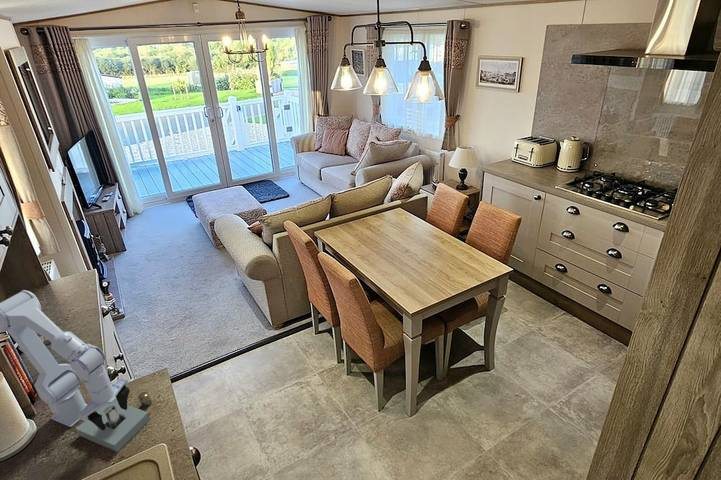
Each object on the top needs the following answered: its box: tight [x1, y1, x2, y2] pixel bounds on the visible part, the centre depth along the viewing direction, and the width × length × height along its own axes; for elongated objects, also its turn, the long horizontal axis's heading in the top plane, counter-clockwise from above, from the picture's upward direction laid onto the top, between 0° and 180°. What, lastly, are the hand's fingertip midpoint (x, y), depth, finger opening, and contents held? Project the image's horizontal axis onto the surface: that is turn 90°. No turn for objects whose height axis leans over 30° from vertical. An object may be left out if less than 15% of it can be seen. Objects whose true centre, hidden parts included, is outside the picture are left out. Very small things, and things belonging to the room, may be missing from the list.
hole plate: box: [75, 399, 152, 453], centre depth 124 cm, size 16×12×3 cm
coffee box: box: [36, 333, 71, 365], centre depth 144 cm, size 9×6×16 cm
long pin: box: [104, 406, 122, 429], centre depth 123 cm, size 3×3×8 cm
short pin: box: [137, 391, 152, 409], centre depth 132 cm, size 3×3×4 cm
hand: (113, 418), depth 123 cm, fingers open, 7 cm apart
